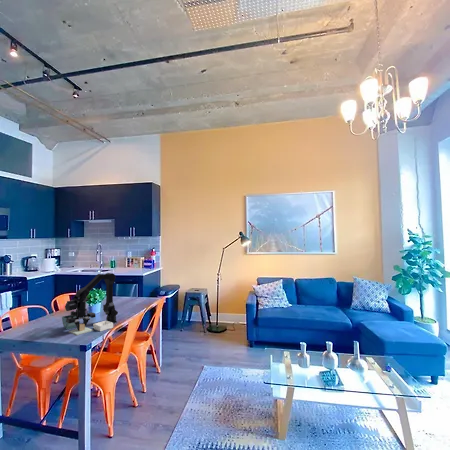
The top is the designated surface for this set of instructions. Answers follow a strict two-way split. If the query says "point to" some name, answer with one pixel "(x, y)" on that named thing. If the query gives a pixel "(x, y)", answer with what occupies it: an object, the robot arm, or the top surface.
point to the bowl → (103, 325)
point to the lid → (81, 329)
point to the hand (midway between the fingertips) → (81, 329)
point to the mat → (79, 334)
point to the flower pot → (68, 325)
